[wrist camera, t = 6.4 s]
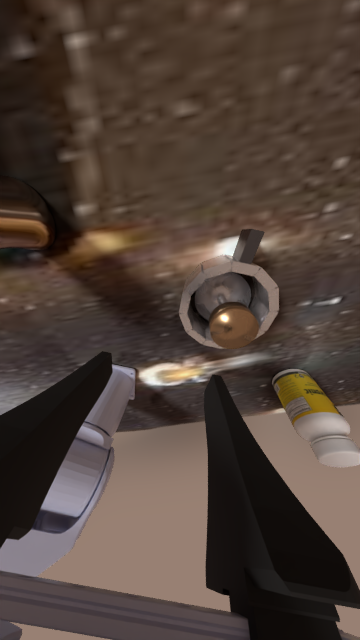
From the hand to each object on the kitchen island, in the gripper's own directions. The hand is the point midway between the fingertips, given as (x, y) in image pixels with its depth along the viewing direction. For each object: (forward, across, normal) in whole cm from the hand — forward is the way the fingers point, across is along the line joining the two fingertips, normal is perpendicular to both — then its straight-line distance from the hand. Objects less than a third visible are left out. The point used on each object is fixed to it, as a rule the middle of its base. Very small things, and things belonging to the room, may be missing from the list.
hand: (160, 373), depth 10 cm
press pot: (+10, -5, -4) cm, 12 cm away
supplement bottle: (+10, -20, +8) cm, 24 cm away
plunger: (+9, -5, -3) cm, 11 cm away
